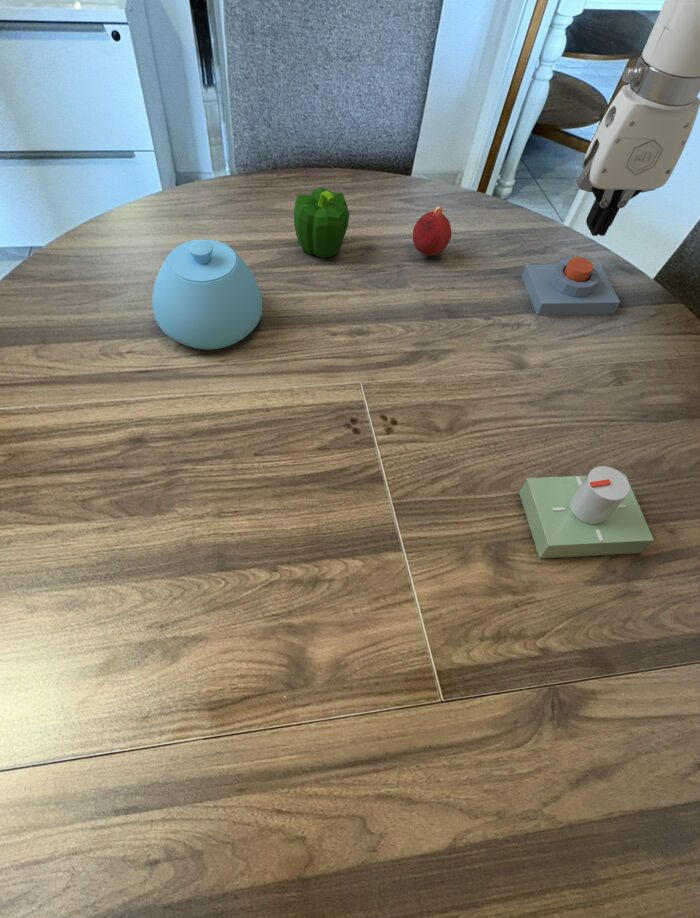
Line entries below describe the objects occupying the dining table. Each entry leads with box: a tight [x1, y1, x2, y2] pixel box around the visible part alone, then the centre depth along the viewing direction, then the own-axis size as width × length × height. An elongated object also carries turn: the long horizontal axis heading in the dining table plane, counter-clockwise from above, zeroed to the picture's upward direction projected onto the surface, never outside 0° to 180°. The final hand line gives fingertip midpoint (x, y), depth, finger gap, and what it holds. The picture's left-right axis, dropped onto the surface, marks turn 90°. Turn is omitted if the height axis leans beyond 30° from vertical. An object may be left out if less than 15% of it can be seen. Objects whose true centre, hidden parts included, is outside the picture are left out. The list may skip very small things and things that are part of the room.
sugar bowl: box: [151, 238, 264, 351], centre depth 82 cm, size 15×15×12 cm
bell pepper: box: [293, 187, 350, 259], centre depth 93 cm, size 8×8×10 cm
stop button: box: [564, 256, 594, 282], centre depth 90 cm, size 4×4×2 cm
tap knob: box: [570, 465, 631, 524], centre depth 67 cm, size 4×4×5 cm
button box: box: [521, 258, 621, 316], centre depth 92 cm, size 12×9×4 cm
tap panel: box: [518, 473, 655, 559], centre depth 70 cm, size 12×9×3 cm
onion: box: [412, 206, 453, 257], centre depth 94 cm, size 6×6×8 cm
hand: (595, 229), depth 85 cm, fingers closed
